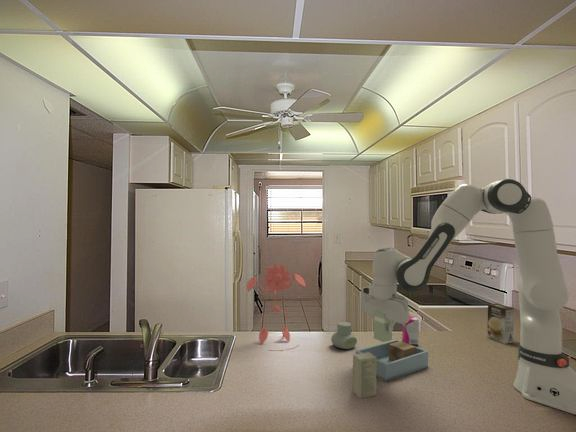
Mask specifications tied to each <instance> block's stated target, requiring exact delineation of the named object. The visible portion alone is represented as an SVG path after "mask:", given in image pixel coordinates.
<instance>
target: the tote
mask: <svg viewBox="0 0 576 432" xmlns="http://www.w3.org/2000/svg"><path fill="white" fill-rule="evenodd" d="M399 341H400V340H399V339H394V340H393V339H392V340H390V341H386V342H382V343H379V344H374V345H371V346H367V347H364V348H360V349H357V350H356V349H355V351H354V352H355V353H354V354H359V353H366V352H370V353H371V354H373V355H374V356H375V357H377V360H376V379H378V380H381V381H383V382H385V383H387V382H390V381H393V380H396V379H398V378H400V377H404V376H406V375H409V374H412V373H414V372H417V371H420V370H423V369H425V368H428V367H429V351H428V350H426V349H423V348H421V347H419V346H416V354H414V355H411V356H408V357H405V358H402V359H399V360H396V361H391V360H389V344H391V343H395V342H399Z"/></svg>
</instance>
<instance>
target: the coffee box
mask: <svg viewBox="0 0 576 432" xmlns="http://www.w3.org/2000/svg"><path fill="white" fill-rule="evenodd" d="M514 324H515V308H514V307H511V306H507V305H504V304H501V303H497V302H496V303H488V304H487V324H486V325H487V327H486V328H487V329H486V337H487V339H490V340H493V341H494V342H498V343H501V344H503V345H505V344H512V343H514V329H515V328H514Z"/></svg>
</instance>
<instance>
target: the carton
mask: <svg viewBox="0 0 576 432" xmlns="http://www.w3.org/2000/svg"><path fill="white" fill-rule="evenodd" d="M389 325H390V323H389V320H388V319H385V314H383V313H380V312H377V311H375V316H374V321H373V327H374V328H373V329H374V330H373V339H375V340H377V341H380V342H382V343H386V342H389V341H393V332H388V331H387V326H389Z"/></svg>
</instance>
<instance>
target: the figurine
mask: <svg viewBox="0 0 576 432" xmlns="http://www.w3.org/2000/svg"><path fill="white" fill-rule="evenodd" d="M266 272H267V273H265V274H264V275H263V279H264V281H263V286H264V287H269V288H267V289H264V288H263V286H262V285H261V284H260V283H259V282H258V280H257V278H256V276H253V277H251V278H250V279H249V280H248V281H247V284H246V289H247V292H250V291H251V290H252V289H254V288H255V286H256V283H257V285H258V286H259V287H260V288H261V290H262V291H263V292H267V291H270V292H271V293H273V299H274V304H275V306H273V308H272V309H271V310H270V311H268V312H264V313H263V314H262V317H263V319H262V320H263V322H265V315H266V314H269V313H271V312H273V311H274V312H275V313H277V312H282V313H284V314H285V316H287V312H286V311H283V310H281V309H280V307H279V306H278V304H277V301H276V292H279V293H281V292H282V290H289V288H290V287H291V284H292V283H293V281H294V279H295V281H296V282H297V283H298V284H299V285H301V286H303V287H304V288H306V287H307V286H306V283H305V282H306V281H305V280H304V278H303V277H302V276H301V275H300V274H298V273H296V272H294V273H293V276H291V275H290V272H291V270H290V269H286V266H285V264H284V263H281V264H280V265H277V264H273V266H267V267H266ZM288 282H289V283H288ZM284 318H285V319H284V320H285V321H284V326H283V327H282V329H281V331H282V333H281V334H282V337H281V338H282V339H285V340H286V341H287V342H290V341H291V340H290V339H291V333H290V331H289V329H288V328H287V327H286V326H287V317H284ZM265 324H266V323H263V328H261V330H259V333H258V340H259V342H260V344H264V343H265V341H266V340H267V339H268V336H269V330H268V328H266V327H265ZM297 347H298V345H296V346H295V347H292V348H287V349H286V351H288V350H291V349H295V348H297ZM269 351H271V352H273V351H274V352H276V351H279V352H283V349H281V350H280V349H277V350H276V349H275V350H272V349H269Z"/></svg>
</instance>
